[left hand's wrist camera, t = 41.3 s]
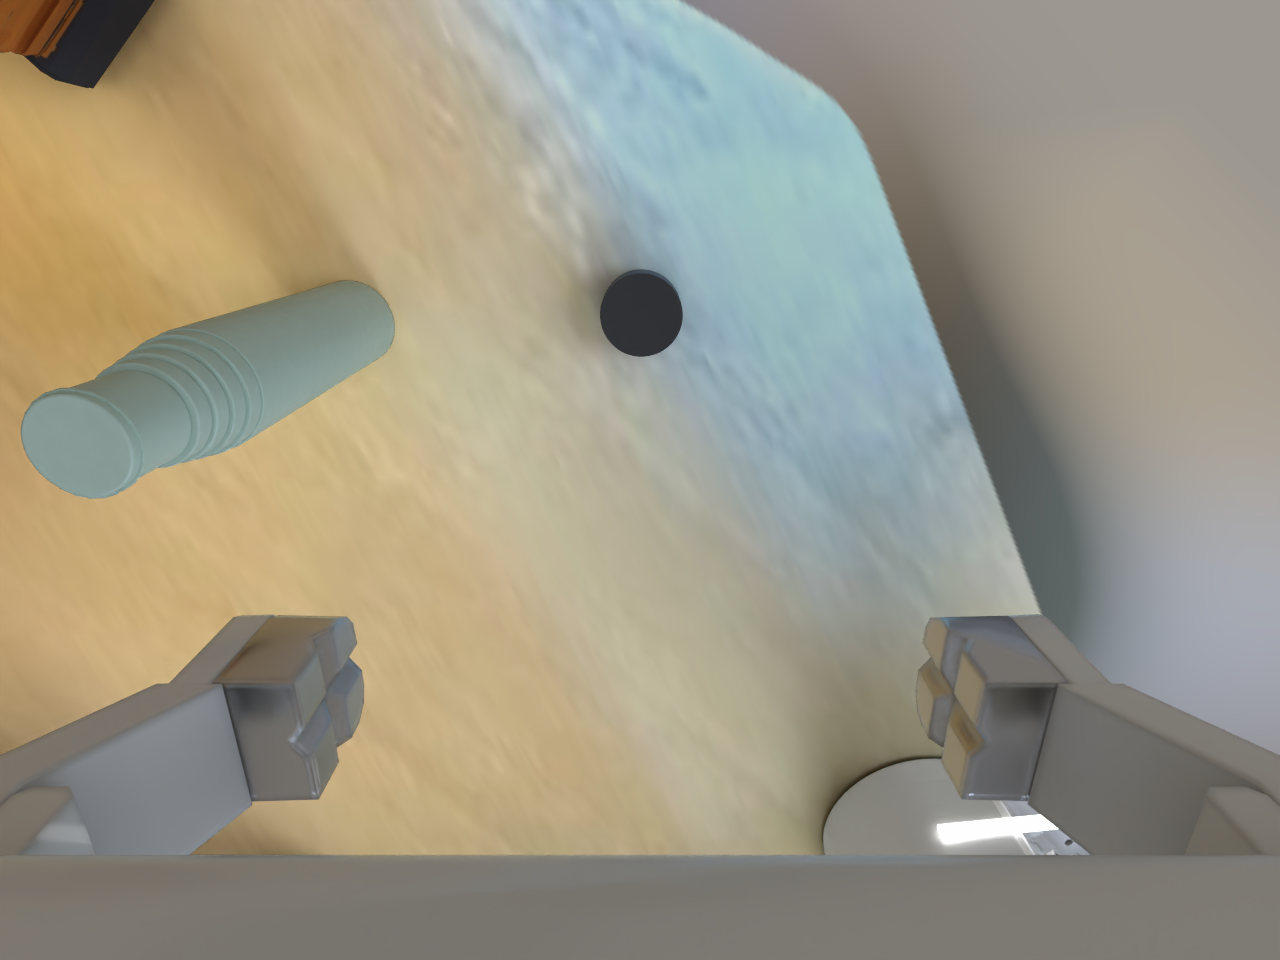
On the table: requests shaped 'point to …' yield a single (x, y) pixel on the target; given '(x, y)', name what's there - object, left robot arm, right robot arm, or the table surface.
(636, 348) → the cap
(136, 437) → the bottle
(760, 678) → the table surface
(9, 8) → the power drill
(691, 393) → the table surface
